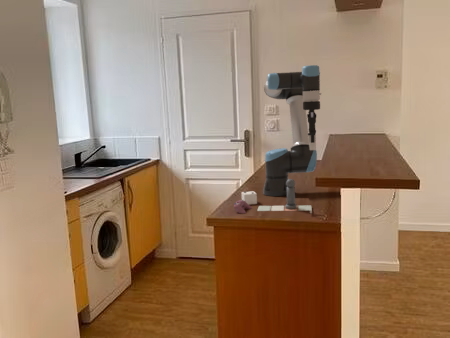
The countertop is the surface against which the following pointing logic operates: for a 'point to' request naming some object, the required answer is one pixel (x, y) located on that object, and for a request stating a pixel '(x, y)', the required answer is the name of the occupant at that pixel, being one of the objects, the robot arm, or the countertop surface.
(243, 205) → the video game controller
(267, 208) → the board
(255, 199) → the die
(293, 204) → the pawn
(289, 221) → the countertop surface
